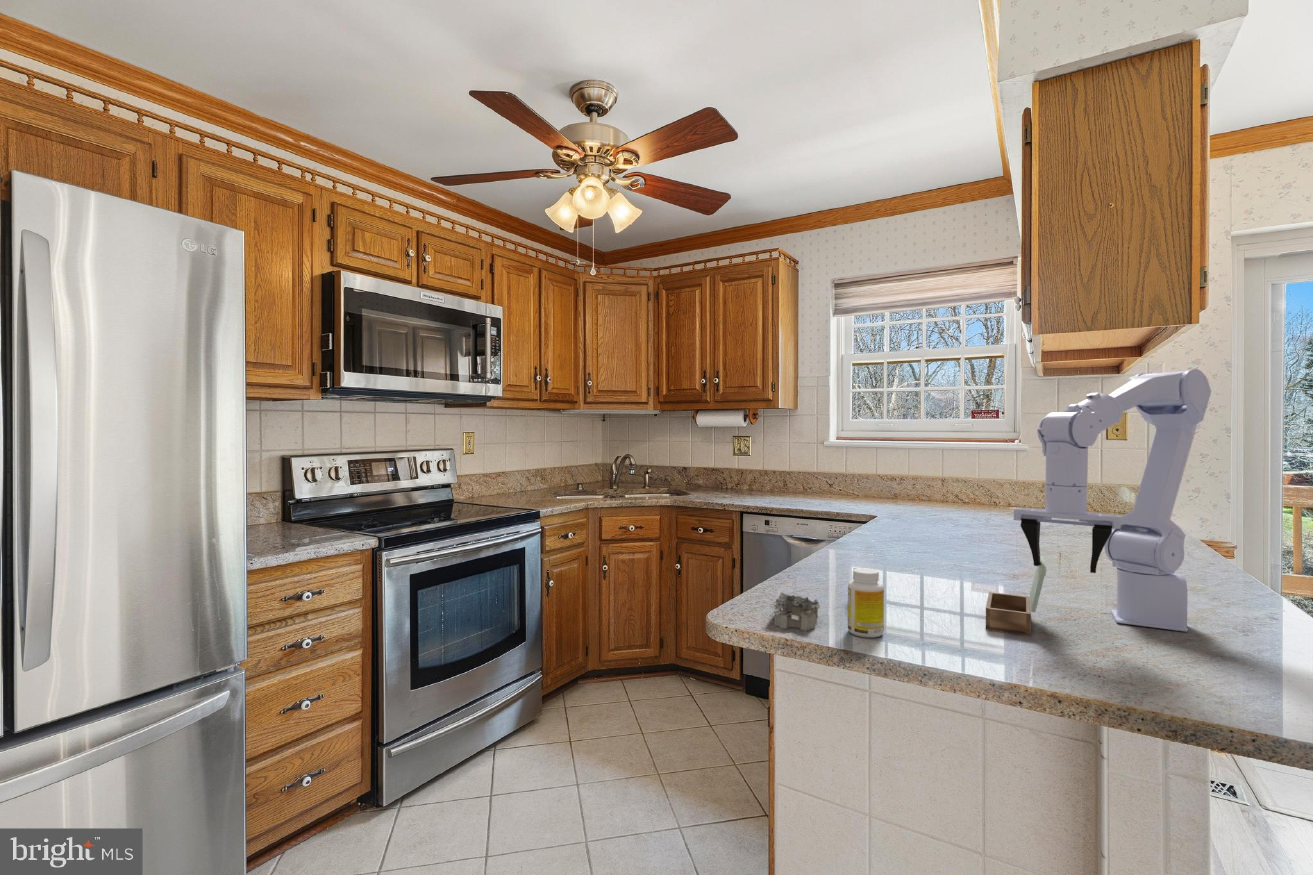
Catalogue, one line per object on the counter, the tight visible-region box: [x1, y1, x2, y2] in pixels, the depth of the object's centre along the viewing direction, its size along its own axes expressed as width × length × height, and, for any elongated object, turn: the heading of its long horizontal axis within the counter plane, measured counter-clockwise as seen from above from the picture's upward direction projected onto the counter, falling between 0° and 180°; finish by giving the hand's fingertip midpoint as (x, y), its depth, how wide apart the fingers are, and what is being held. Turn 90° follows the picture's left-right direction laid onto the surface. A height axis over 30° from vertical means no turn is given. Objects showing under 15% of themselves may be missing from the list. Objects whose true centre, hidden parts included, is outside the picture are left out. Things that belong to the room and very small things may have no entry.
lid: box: [1029, 554, 1048, 613], centre depth 104 cm, size 7×12×1 cm
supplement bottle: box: [847, 567, 885, 639], centre depth 101 cm, size 6×6×10 cm
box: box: [985, 591, 1032, 637], centre depth 106 cm, size 6×12×4 cm, turn 150°
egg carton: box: [771, 592, 821, 631], centre depth 108 cm, size 11×8×4 cm
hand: (1064, 568), depth 101 cm, fingers open, 7 cm apart
